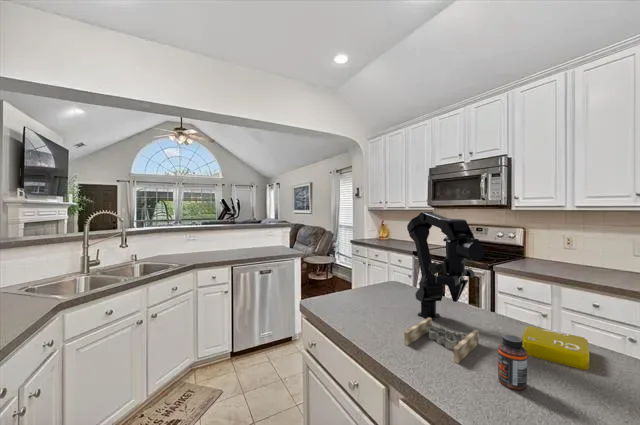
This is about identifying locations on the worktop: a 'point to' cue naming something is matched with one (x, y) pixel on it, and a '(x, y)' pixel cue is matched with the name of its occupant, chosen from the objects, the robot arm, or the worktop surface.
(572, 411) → the worktop surface
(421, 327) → the open wooden frame
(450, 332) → the egg carton
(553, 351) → the element tile
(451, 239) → the robot arm
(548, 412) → the worktop surface
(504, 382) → the supplement bottle
